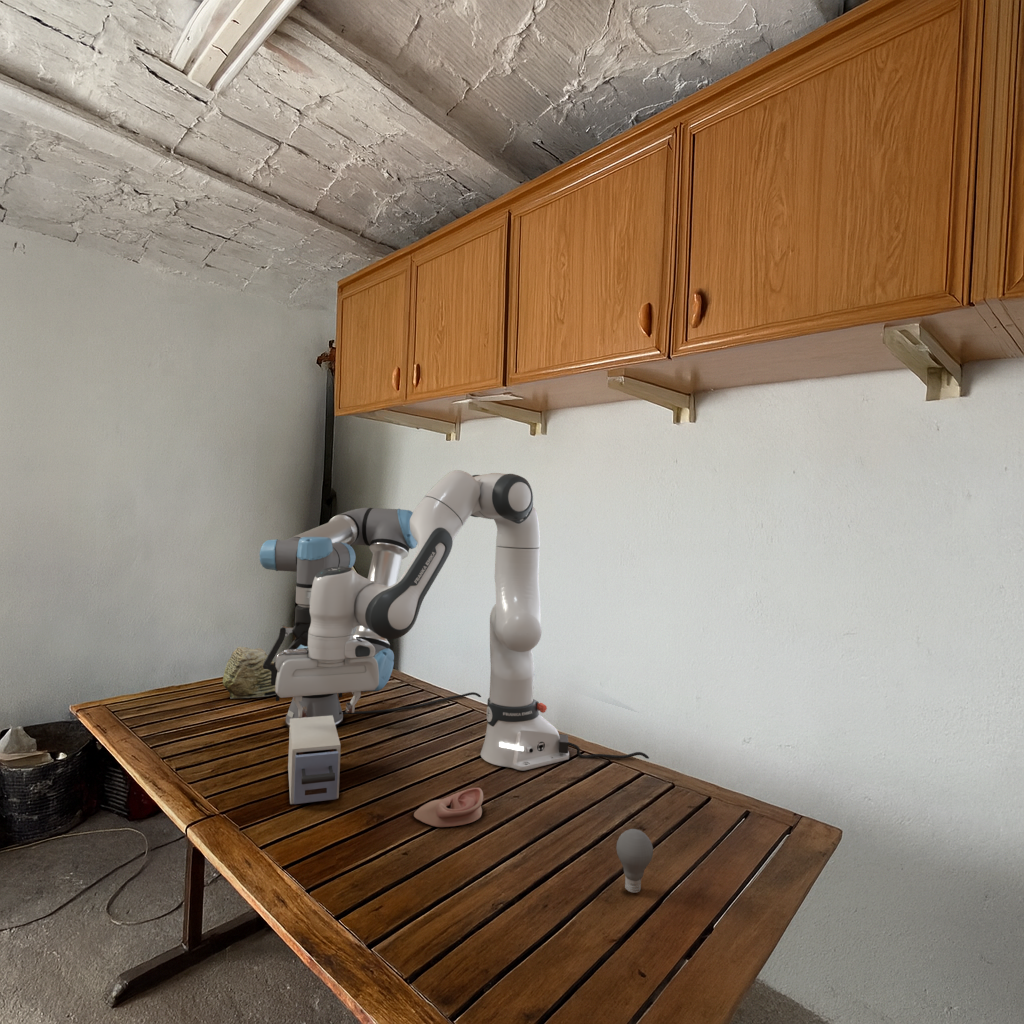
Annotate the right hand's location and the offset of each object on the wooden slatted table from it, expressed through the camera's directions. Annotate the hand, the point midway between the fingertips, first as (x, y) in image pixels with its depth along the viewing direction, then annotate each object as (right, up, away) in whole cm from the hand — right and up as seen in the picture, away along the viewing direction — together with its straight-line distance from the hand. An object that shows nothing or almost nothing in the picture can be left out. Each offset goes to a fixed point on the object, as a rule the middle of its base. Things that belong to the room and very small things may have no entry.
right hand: (326, 714), depth 129 cm
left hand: (-9, -1, +16) cm, 18 cm away
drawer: (-5, -18, +6) cm, 20 cm away
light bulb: (+58, -22, -23) cm, 66 cm away
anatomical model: (+25, -20, 0) cm, 32 cm away
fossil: (-43, -16, +69) cm, 83 cm away
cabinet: (-7, -19, +11) cm, 23 cm away
